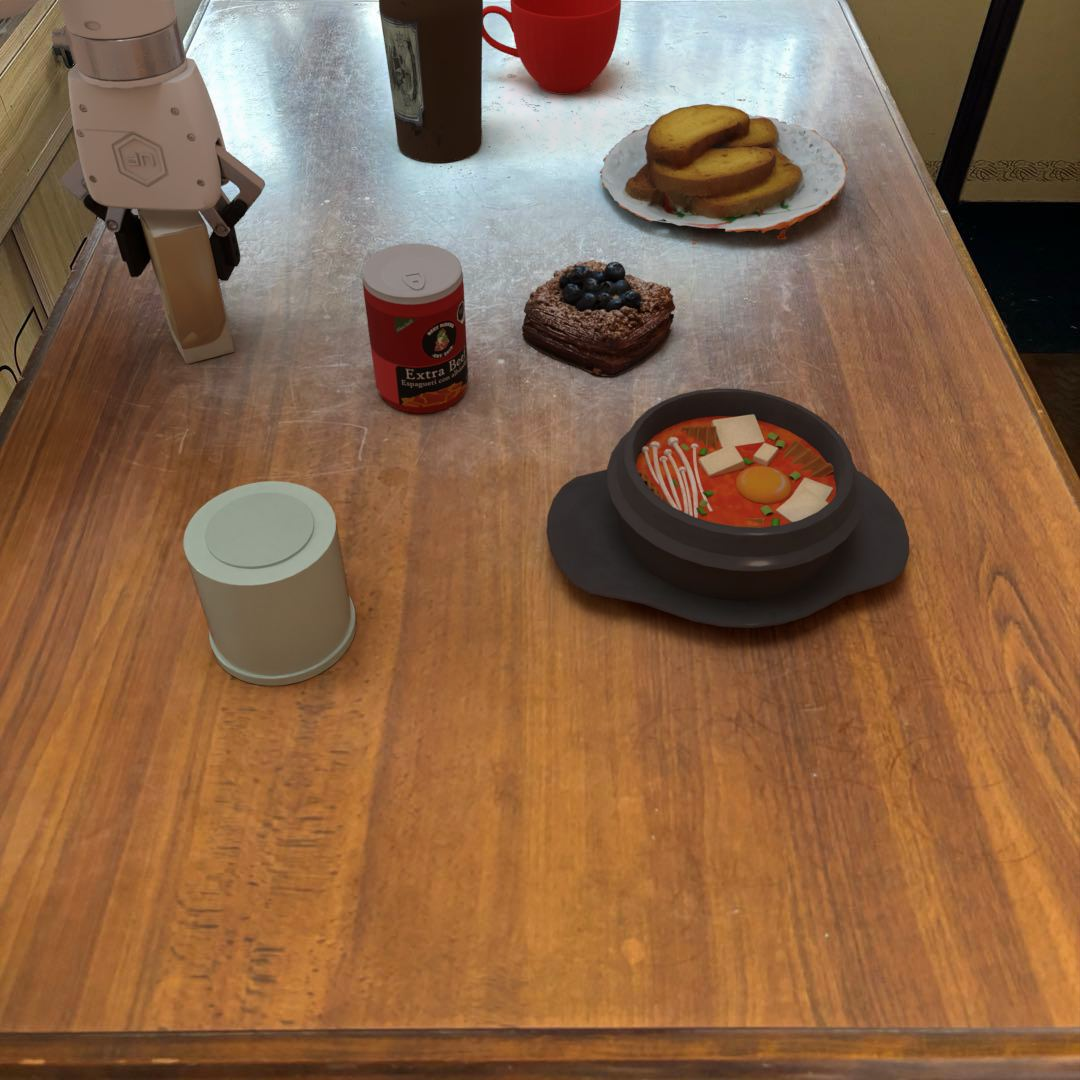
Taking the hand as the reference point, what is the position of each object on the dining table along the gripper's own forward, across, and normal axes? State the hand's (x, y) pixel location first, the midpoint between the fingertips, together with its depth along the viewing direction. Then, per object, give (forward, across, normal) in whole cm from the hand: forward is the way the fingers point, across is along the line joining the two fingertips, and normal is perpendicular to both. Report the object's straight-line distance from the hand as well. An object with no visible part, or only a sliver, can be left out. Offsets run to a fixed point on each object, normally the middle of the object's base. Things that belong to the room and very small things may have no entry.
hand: (184, 268), depth 91 cm
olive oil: (+7, +15, +40) cm, 43 cm away
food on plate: (+7, +46, +32) cm, 57 cm away
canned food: (+7, +20, -5) cm, 22 cm away
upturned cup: (+7, +15, -32) cm, 36 cm away
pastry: (+7, +34, +4) cm, 35 cm away
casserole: (+7, +44, -22) cm, 50 cm away
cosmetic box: (+7, 0, 0) cm, 7 cm away
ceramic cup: (+7, +26, +58) cm, 64 cm away
